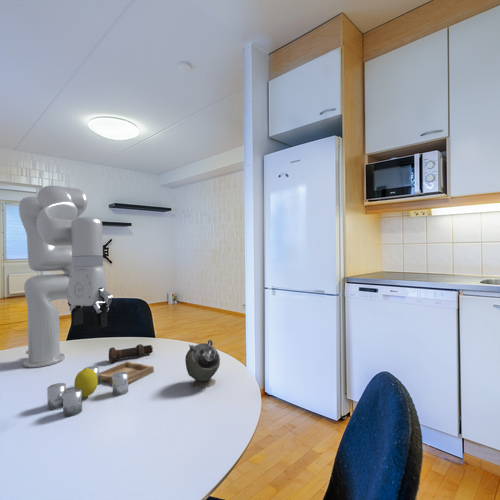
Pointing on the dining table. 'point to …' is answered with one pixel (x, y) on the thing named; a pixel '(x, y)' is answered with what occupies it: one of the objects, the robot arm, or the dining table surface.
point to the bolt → (129, 352)
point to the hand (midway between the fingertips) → (89, 326)
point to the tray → (133, 370)
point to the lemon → (86, 381)
